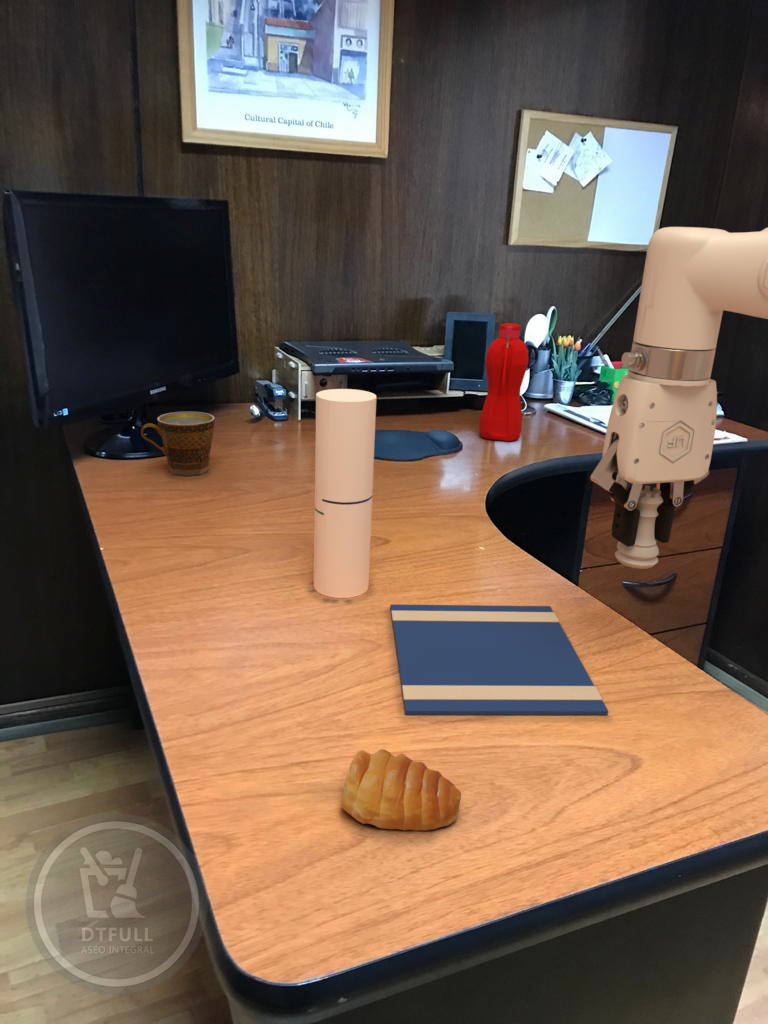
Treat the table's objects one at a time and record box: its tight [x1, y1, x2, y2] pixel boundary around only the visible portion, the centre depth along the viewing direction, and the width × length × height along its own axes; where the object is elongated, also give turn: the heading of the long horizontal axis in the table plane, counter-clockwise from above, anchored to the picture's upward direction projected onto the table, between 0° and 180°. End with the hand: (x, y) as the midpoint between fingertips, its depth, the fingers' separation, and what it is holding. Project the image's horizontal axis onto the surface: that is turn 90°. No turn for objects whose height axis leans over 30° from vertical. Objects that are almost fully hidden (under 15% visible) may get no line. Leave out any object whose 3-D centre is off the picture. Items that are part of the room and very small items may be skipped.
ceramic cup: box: [140, 410, 216, 478], centre depth 139 cm, size 13×10×10 cm
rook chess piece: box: [614, 485, 663, 570], centre depth 80 cm, size 4×4×8 cm
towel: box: [389, 603, 609, 716], centre depth 85 cm, size 20×22×1 cm
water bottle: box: [478, 322, 529, 442], centre depth 169 cm, size 9×11×25 cm
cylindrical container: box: [313, 388, 377, 599], centre depth 96 cm, size 7×7×25 cm
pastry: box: [339, 748, 462, 832], centre depth 62 cm, size 9×7×4 cm
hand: (639, 538), depth 81 cm, fingers closed on rook chess piece, 3 cm apart
